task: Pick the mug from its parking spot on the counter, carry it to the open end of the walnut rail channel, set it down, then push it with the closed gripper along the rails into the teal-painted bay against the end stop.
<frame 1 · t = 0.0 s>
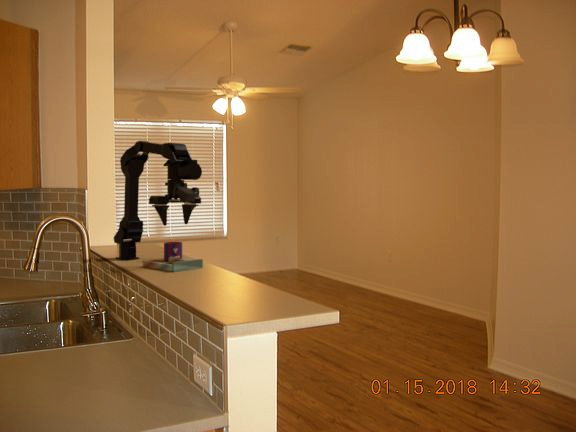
hand: (175, 224, 195), 15 cm above the counter, fingers open, 9 cm apart
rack: (172, 267, 195), on the counter
mug: (172, 260, 212), on the counter
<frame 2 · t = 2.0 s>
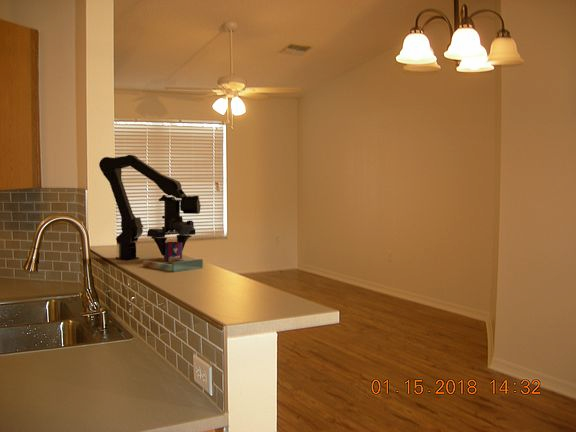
hand: (171, 254, 212), 2 cm above the counter, fingers open, 8 cm apart
mug: (172, 260, 212), on the counter, touching gripper
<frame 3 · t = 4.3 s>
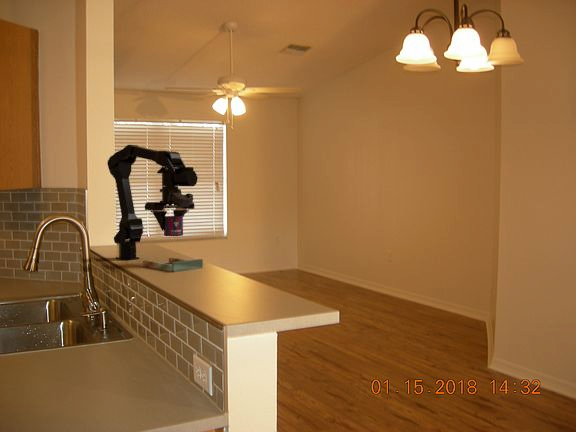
hand: (170, 229, 202), 12 cm above the counter, fingers closed on mug, 6 cm apart
mug: (172, 235, 203), point 10 cm above the counter, touching gripper
when the fingers open (3 cm above the counter, at t = 6.1 s): mug stays where it is, resting in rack.
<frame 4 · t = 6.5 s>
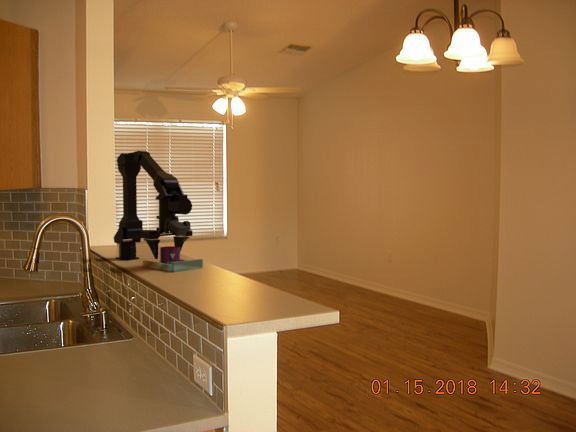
hand: (167, 257, 197), 3 cm above the counter, fingers open, 9 cm apart
mug: (168, 266, 198), resting in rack
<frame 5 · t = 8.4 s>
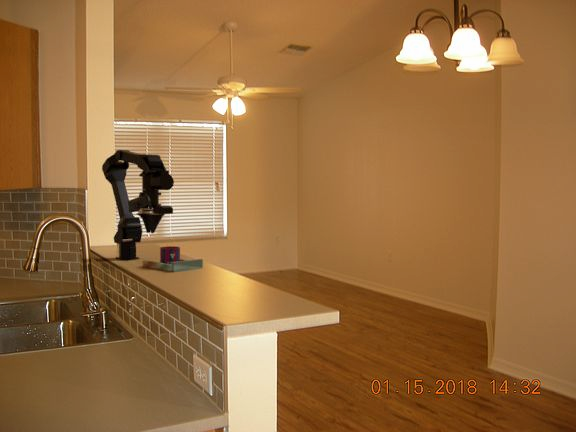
hand: (150, 233, 202), 11 cm above the counter, fingers closed
nothing on the counter moved.
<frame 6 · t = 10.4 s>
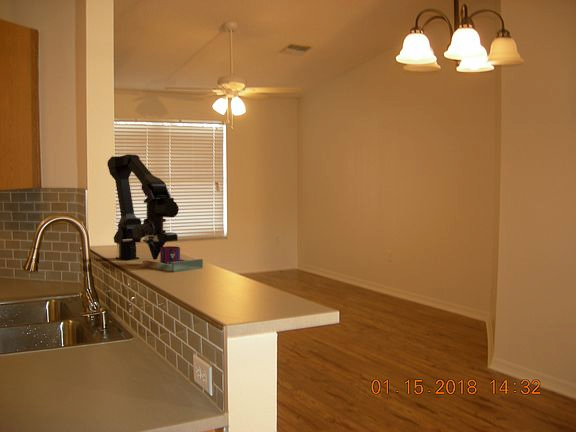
hand: (154, 259, 201), 2 cm above the counter, fingers closed
mug: (169, 266, 197), resting in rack, touching gripper
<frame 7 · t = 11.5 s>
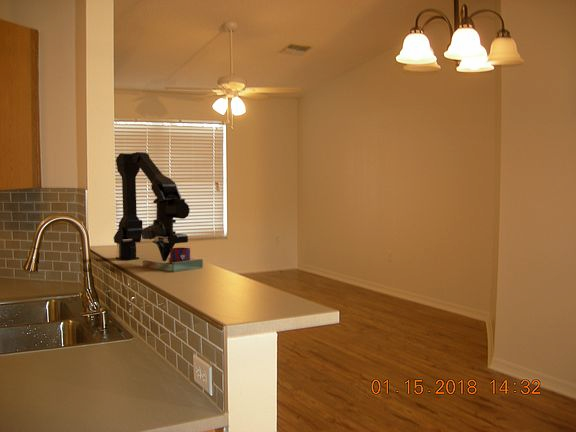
hand: (164, 261, 198), 2 cm above the counter, fingers closed
mug: (178, 268, 194), resting in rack, touching gripper
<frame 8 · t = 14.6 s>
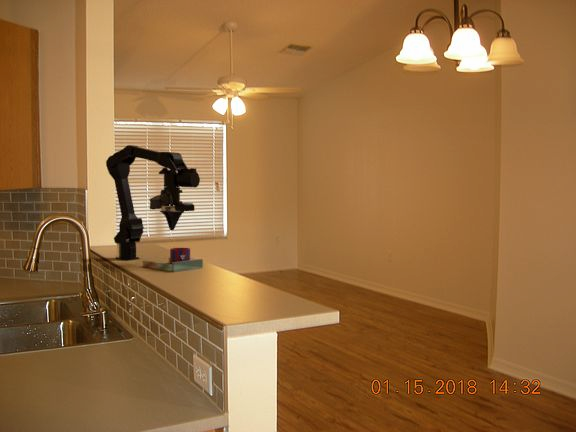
hand: (171, 230, 204), 12 cm above the counter, fingers closed
mug: (179, 268, 194), resting in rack
at the end: mug inside the target area (0.8 cm from its centre), resting in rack; mug tilted 0° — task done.
